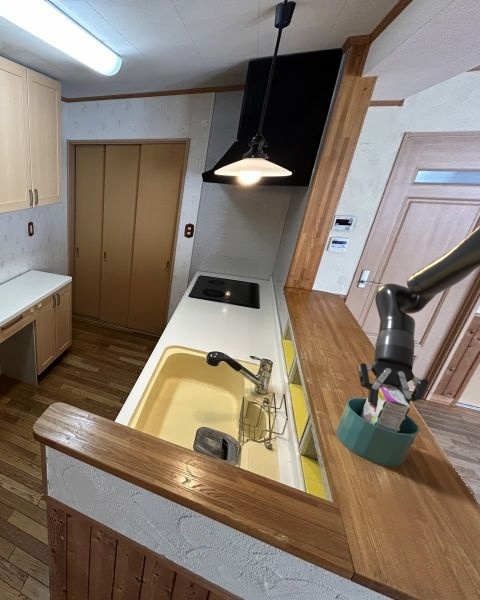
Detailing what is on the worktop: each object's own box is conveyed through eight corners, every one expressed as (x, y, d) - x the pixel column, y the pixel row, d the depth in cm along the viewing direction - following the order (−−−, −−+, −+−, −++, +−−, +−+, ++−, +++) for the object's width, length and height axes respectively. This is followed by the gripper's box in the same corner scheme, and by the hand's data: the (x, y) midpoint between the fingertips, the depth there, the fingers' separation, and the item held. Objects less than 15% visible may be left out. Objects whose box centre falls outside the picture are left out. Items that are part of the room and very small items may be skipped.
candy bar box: (353, 426, 94) (374, 378, 88) (375, 433, 91) (398, 384, 86) (361, 451, 84) (385, 399, 79) (386, 459, 82) (413, 407, 76)
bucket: (388, 435, 92) (402, 406, 88) (415, 474, 79) (433, 442, 76) (328, 420, 97) (339, 392, 93) (345, 454, 84) (358, 423, 81)
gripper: (366, 336, 88) (357, 395, 83) (438, 353, 81) (434, 418, 76) (356, 346, 94) (347, 401, 89) (422, 362, 87) (417, 423, 82)
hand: (387, 408), depth 82 cm, fingers closed on candy bar box, 5 cm apart
